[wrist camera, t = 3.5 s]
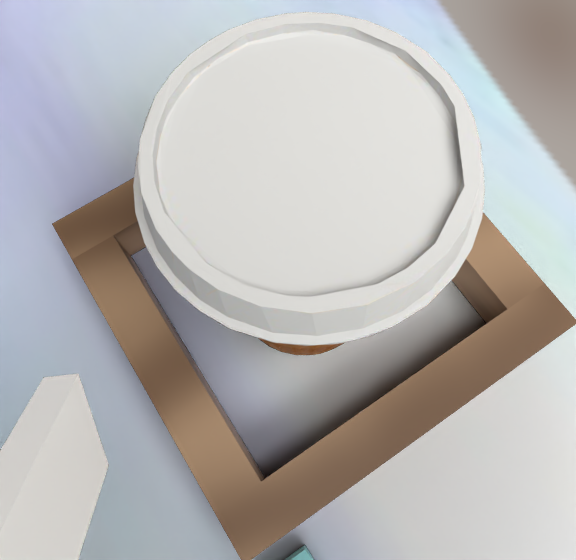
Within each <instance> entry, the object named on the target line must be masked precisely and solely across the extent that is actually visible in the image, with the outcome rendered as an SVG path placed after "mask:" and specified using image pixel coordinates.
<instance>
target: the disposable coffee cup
mask: <svg viewBox="0 0 576 560" xmlns="http://www.w3.org/2000/svg"><path fill="white" fill-rule="evenodd" d="M133 188H134V201H135V213H136V216H137V220H138V223H139V226H140V230H141V233H142V237H143V240H144V243H145V245H146V247H147V249H148V251H149V253H150V255H151V256H152V258H153V260H154V262H155V264H156V266H157V267H158V269H159V270H160V271H161V272H162V274H163V275H164V276H165V278H166V279H167V280H168V281H169V283H170V284H171V285H172V286H173V288H174V289H175V290H176V291H177V292H178V293H179V294H180V295H181V296H183V297H184V298H185V299H186V300H187V301H188V302H189V303H190V304H192V305H193V306H194V307H195V308H197V309H198V310H199V311H201V312H202V313H204V314H206V315H207V316H209V317H211V318H212V319H214V320H215V321H217V322H219V323H220V324H222V325H224V326H225V327H227V328H229V329H232V330H235V331H238V332H241V333H245V334H248V335H251V336H254V337H257V338H258V339H260V340H261V341H263V342H264V343H265V344H267V345H268V346H270V347H272V348H274V349H276V350H279V351H281V352H285V353H290V354H294V355H315V354H321V353H324V352H326V351H329V350H332V349H334V348H336V347H338V346H340V345H342V344H344V343H345V342H349V341H353V340H357V339H361V338H364V337H368V336H371V335H375V334H377V333H379V332H382V331H384V330H386V329H389V328H391V327H393V326H395V325H397V324H398V323H400V322H402V321H403V320H405V319H406V318H408V317H410V316H411V315H413V314H414V313H416V312H418V311H419V310H421V309H422V308H424V307H425V306H427V305H428V304H429V303H430V302H431V301H432V300H433V299H434V298H435V297H436V296H437V295H438V294H439V293H440V292H441V291H442V290H443V289H444V287H445V286H446V285H447V284H448V283H449V282H450V281H451V280H452V279H453V278H454V277H455V276H456V274H457V272H458V271H459V269H460V267H461V266H462V264H463V263H464V261H465V259H466V258H467V256H468V254H469V253H470V251H471V249H472V247H473V244H474V241H475V238H476V235H477V232H478V229H479V226H480V223H481V220H482V214H483V205H484V195H485V185H484V172H483V163H482V160H481V143H480V139H479V135H478V131H477V127H476V123H475V119H474V116H473V114H472V112H471V109H470V107H469V105H468V103H467V101H466V99H465V97H464V95H463V93H462V92H461V90H460V89H459V87H458V86H457V85H456V83H455V82H454V80H453V79H452V77H451V76H450V75H449V74H448V73H447V72H446V71H445V70H444V69H443V68H442V67H441V66H440V65H439V64H438V63H437V62H436V61H435V59H434V58H433V57H432V56H431V55H430V54H429V53H428V52H427V51H425V50H423V49H422V48H420V47H419V46H417V45H415V44H414V43H412V42H411V41H409V40H407V39H406V38H404V37H403V36H401V35H399V34H398V33H396V32H394V31H392V30H389V29H387V28H384V27H382V26H379V25H377V24H374V23H372V22H369V21H367V20H363V19H358V18H353V17H348V16H343V15H339V14H334V13H315V12H299V13H286V14H281V15H276V16H271V17H266V18H261V19H256V20H253V21H250V22H248V23H245V24H242V25H240V26H237V27H234V28H232V29H229V30H227V31H225V32H224V33H222V34H220V35H218V36H216V37H214V38H213V39H211V40H209V41H208V42H206V43H205V44H204V45H202V46H201V47H199V48H198V49H197V50H195V51H194V52H193V53H191V54H190V55H189V56H188V57H187V58H186V59H185V60H184V61H183V62H182V63H181V64H180V65H179V66H178V67H177V68H176V69H175V70H174V71H173V72H172V73H171V75H170V76H169V77H168V79H167V80H166V82H165V83H164V84H163V86H162V87H161V89H160V90H159V92H158V93H157V94H156V96H155V98H154V101H153V103H152V105H151V108H150V110H149V112H148V115H147V117H146V120H145V124H144V127H143V131H142V134H141V138H140V144H139V152H138V155H137V158H136V167H135V175H134V184H133Z"/></svg>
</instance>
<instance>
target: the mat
mask: <svg viewBox="0 0 576 560" xmlns="http://www.w3.org/2000/svg"><path fill="white" fill-rule="evenodd" d="M285 560H314V559H313V557H312V555H311V554H310V552H309V550H308V549H307V547H306V545H304V546H303V547H301V548H300V549H298V550H297V551H296V552H294V553H293V554H292V555H290V556H289V557H288V558H286V559H285Z"/></svg>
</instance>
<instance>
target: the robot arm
mask: <svg viewBox="0 0 576 560" xmlns="http://www.w3.org/2000/svg"><path fill="white" fill-rule="evenodd" d="M108 467H109V464H108V461H107V458H106V455H105V452H104V449H103V446H102V443H101V440H100V437H99V434H98V431H97V428H96V425H95V422H94V419H93V416H92V413H91V410H90V407H89V404H88V401H87V398H86V395H85V392H84V389H83V386H82V383H81V380H80V377H79V374H70V375H61V376H52V377H43V379H42V381H41V382H40V384H39V386H38V387H37V389H36V391H35V393H34V394H33V396H32V398H31V399H30V401H29V403H28V404H27V406H26V408H25V409H24V411H23V413H22V415H21V416H20V418H19V420H18V421H17V423H16V425H15V426H14V428H13V430H12V432H11V433H10V435H9V437H8V438H7V440H6V442H5V443H4V445H3V447H2V448H1V450H0V560H78V559H79V556H80V553H81V550H82V547H83V544H84V540H85V537H86V534H87V531H88V528H89V525H90V522H91V519H92V516H93V513H94V510H95V507H96V503H97V500H98V497H99V494H100V491H101V488H102V485H103V482H104V479H105V476H106V473H107V470H108Z"/></svg>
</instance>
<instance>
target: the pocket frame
mask: <svg viewBox="0 0 576 560" xmlns="http://www.w3.org/2000/svg"><path fill="white" fill-rule="evenodd" d="M133 184H134V178H133V179H131V180H129V181H127V182H125V183H124V184H122V185H120V186H118V187H117V188H115V189H113V190H111V191H109V192H108V193H106V194H104V195H102V196H101V197H99V198H97V199H95V200H94V201H92V202H90V203H88V204H86V205H85V206H83V207H81V208H79V209H78V210H76V211H74V212H72V213H70V214H69V215H67V216H65V217H63V218H62V219H60V220H58V221H56V222H55V223H53V224H52V225H53V227H54V228H55V230H56V232H57V234H58V236H59V237H60V239H61V241H62V243H63V244H64V246H65V248H66V250H67V252H68V253H69V255H70V257H71V259H72V260H73V262H74V264H75V266H76V268H77V269H78V271H79V273H80V275H81V276H82V278H83V280H84V282H85V283H86V285H87V287H88V289H89V291H90V292H91V294H92V296H93V298H94V299H95V301H96V303H97V305H98V307H99V308H100V310H101V312H102V314H103V315H104V317H105V319H106V321H107V323H108V324H109V326H110V328H111V330H112V331H113V333H114V335H115V337H116V339H117V340H118V342H119V344H120V346H121V347H122V349H123V351H124V353H125V354H126V356H127V358H128V360H129V362H130V363H131V365H132V367H133V369H134V370H135V372H136V374H137V376H138V378H139V379H140V381H141V383H142V385H143V386H144V388H145V390H146V392H147V394H148V395H149V397H150V399H151V401H152V402H153V404H154V406H155V408H156V410H157V411H158V413H159V415H160V417H161V418H162V420H163V422H164V424H165V426H166V427H167V429H168V431H169V433H170V434H171V436H172V438H173V440H174V441H175V443H176V445H177V447H178V449H179V450H180V452H181V454H182V456H183V457H184V459H185V461H186V463H187V465H188V466H189V468H190V470H191V472H192V473H193V475H194V477H195V479H196V481H197V482H198V484H199V486H200V488H201V489H202V491H203V493H204V495H205V497H206V498H207V500H208V502H209V504H210V505H211V507H212V509H213V511H214V513H215V514H216V516H217V518H218V520H219V521H220V523H221V525H222V527H223V528H224V530H225V532H226V534H227V536H228V537H229V539H230V541H231V543H232V544H233V546H234V548H235V550H236V552H237V553H238V555H239V557H240V559H241V560H251V559H253V558H254V557H255V556H257V555H258V554H260V553H261V552H262V551H264V550H265V549H266V548H268V547H269V546H271V545H272V544H273V543H275V542H276V541H277V540H279V539H280V538H282V537H283V536H284V535H286V534H287V533H288V532H290V531H291V530H293V529H294V528H295V527H297V526H298V525H300V524H301V523H302V522H304V521H305V520H306V519H308V518H309V517H311V516H312V515H313V514H315V513H316V512H317V511H319V510H320V509H322V508H323V507H324V506H326V505H327V504H328V503H330V502H331V501H333V500H334V499H335V498H337V497H338V496H339V495H341V494H342V493H344V492H345V491H346V490H348V489H349V488H351V487H352V486H353V485H355V484H356V483H357V482H359V481H360V480H362V479H363V478H364V477H366V476H367V475H368V474H370V473H371V472H373V471H374V470H375V469H377V468H378V467H379V466H381V465H382V464H384V463H385V462H386V461H388V460H389V459H391V458H392V457H393V456H395V455H396V454H397V453H399V452H400V451H402V450H403V449H404V448H406V447H407V446H408V445H410V444H411V443H413V442H414V441H415V440H417V439H418V438H419V437H421V436H422V435H424V434H425V433H426V432H428V431H429V430H430V429H432V428H433V427H435V426H436V425H437V424H439V423H440V422H442V421H443V420H444V419H446V418H447V417H448V416H450V415H451V414H453V413H454V412H455V411H457V410H458V409H459V408H461V407H462V406H464V405H465V404H466V403H468V402H469V401H470V400H472V399H473V398H475V397H476V396H477V395H479V394H480V393H481V392H483V391H484V390H486V389H487V388H488V387H490V386H491V385H493V384H494V383H495V382H497V381H498V380H499V379H501V378H502V377H504V376H505V375H506V374H508V373H509V372H510V371H512V370H513V369H515V368H516V367H517V366H519V365H520V364H521V363H523V362H524V361H526V360H527V359H528V358H530V357H531V356H532V355H534V354H535V353H537V352H538V351H539V350H541V349H542V348H544V347H545V346H546V345H548V344H549V343H550V342H552V341H553V340H555V339H556V338H557V337H559V336H560V335H561V334H563V333H564V332H566V331H567V330H568V329H570V328H571V327H572V326H574V325H575V324H576V319H575V318H574V317H573V316H572V315H571V314H570V312H569V311H568V310H567V309H566V308H565V307H564V305H563V304H562V303H561V302H560V301H559V300H558V298H557V297H556V296H555V295H554V294H553V293H552V292H551V290H550V289H549V288H548V287H547V286H546V285H545V283H544V282H543V281H542V280H541V279H540V278H539V277H538V275H537V274H536V273H535V272H534V271H533V270H532V268H531V267H530V266H529V265H528V264H527V263H526V261H525V260H524V259H523V258H522V257H521V256H520V255H519V253H518V252H517V251H516V250H515V249H514V248H513V246H512V245H511V244H510V243H509V242H508V241H507V239H506V238H505V237H504V236H503V235H502V234H501V233H500V231H499V230H498V229H497V228H496V227H495V226H494V224H493V223H492V222H491V221H490V220H489V219H488V218H487V216H486V215H485V214H484V213H483V214H482V220H481V223H480V226H479V229H478V232H477V235H476V238H475V241H474V244H473V247H472V249H471V251H470V253H469V254H468V256H467V258H466V259H465V261H464V263H463V264H462V266H461V267H460V269H459V271H458V272H457V274H456V276H455V277H454V278H453V279H452V281H453V282H454V284H455V285H456V286H457V287H458V289H459V290H460V291H461V292H462V294H463V295H464V296H465V297H466V299H467V300H468V301H469V302H470V304H471V305H472V306H473V307H474V308H475V310H476V311H477V312H478V313H479V315H480V316H481V317H482V318H483V320H484V321H485V322H486V324H485V325H483V326H482V327H481V328H479V329H478V330H476V331H475V332H473V333H472V334H471V335H469V336H468V337H466V338H465V339H463V340H462V341H461V342H459V343H458V344H456V345H455V346H453V347H452V348H451V349H449V350H448V351H446V352H445V353H443V354H442V355H441V356H439V357H438V358H436V359H435V360H433V361H432V362H431V363H429V364H428V365H426V366H425V367H423V368H422V369H421V370H419V371H418V372H416V373H415V374H413V375H412V376H411V377H409V378H408V379H406V380H405V381H403V382H402V383H401V384H399V385H398V386H396V387H395V388H393V389H392V390H391V391H389V392H388V393H386V394H385V395H383V396H382V397H381V398H379V399H378V400H376V401H375V402H373V403H372V404H371V405H369V406H368V407H366V408H365V409H363V410H362V411H361V412H359V413H358V414H356V415H355V416H353V417H352V418H350V419H349V420H348V421H346V422H345V423H343V424H342V425H340V426H339V427H338V428H336V429H335V430H333V431H332V432H330V433H329V434H328V435H326V436H325V437H323V438H322V439H320V440H319V441H318V442H316V443H315V444H313V445H312V446H310V447H309V448H308V449H306V450H305V451H303V452H302V453H300V454H299V455H298V456H296V457H295V458H293V459H292V460H290V461H289V462H288V463H286V464H285V465H283V466H282V467H280V468H279V469H278V470H276V471H275V472H273V473H272V474H270V475H269V476H268V477H266V478H265V477H264V476H263V474H262V472H261V471H260V469H259V467H258V466H257V464H256V462H255V461H254V459H253V458H252V456H251V454H250V453H249V451H248V449H247V448H246V446H245V444H244V443H243V441H242V439H241V438H240V436H239V434H238V433H237V431H236V429H235V428H234V426H233V424H232V423H231V421H230V419H229V418H228V416H227V414H226V413H225V411H224V410H223V408H222V406H221V405H220V403H219V401H218V400H217V398H216V396H215V395H214V393H213V391H212V390H211V388H210V386H209V385H208V383H207V381H206V380H205V378H204V376H203V375H202V373H201V371H200V370H199V368H198V366H197V365H196V363H195V361H194V360H193V358H192V357H191V355H190V353H189V352H188V350H187V348H186V347H185V345H184V343H183V342H182V340H181V338H180V337H179V335H178V333H177V332H176V330H175V328H174V327H173V325H172V323H171V322H170V320H169V318H168V317H167V315H166V313H165V312H164V310H163V308H162V307H161V305H160V304H159V302H158V300H157V299H156V297H155V295H154V294H153V292H152V290H151V289H150V287H149V285H148V284H147V282H146V280H145V279H144V277H143V275H142V274H141V272H140V270H139V269H138V267H137V265H136V264H135V262H134V260H133V259H132V257H131V255H133V254H135V253H136V252H138V251H140V250H141V249H143V248H145V247H146V245H145V243H144V240H143V237H142V233H141V230H140V226H139V223H138V220H137V216H136V213H135V201H134V188H133Z"/></svg>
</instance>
